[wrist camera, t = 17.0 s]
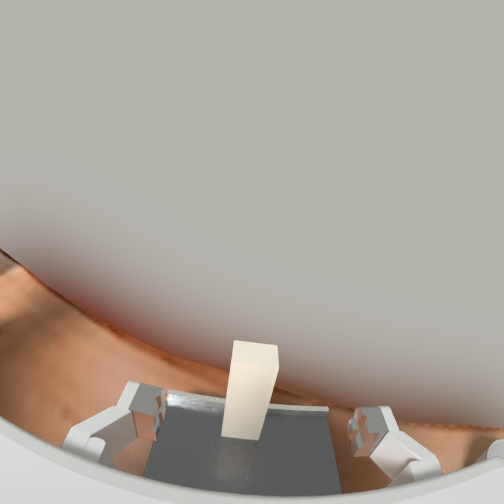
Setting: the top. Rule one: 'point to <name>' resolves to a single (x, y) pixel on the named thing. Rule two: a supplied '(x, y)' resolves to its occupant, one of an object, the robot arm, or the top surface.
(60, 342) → the top surface
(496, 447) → the teacup
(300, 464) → the flat grey white box
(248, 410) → the tea box
